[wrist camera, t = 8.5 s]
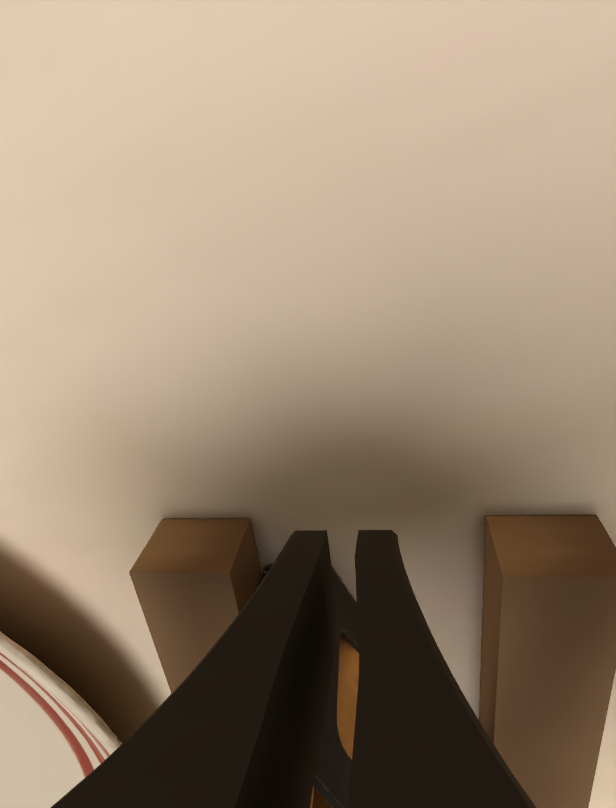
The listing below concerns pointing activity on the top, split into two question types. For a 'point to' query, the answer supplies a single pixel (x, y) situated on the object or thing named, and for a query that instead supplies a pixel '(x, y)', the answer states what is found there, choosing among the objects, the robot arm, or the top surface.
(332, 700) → the ammunition clip
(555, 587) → the guide rails
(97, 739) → the dinner plate
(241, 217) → the top surface
